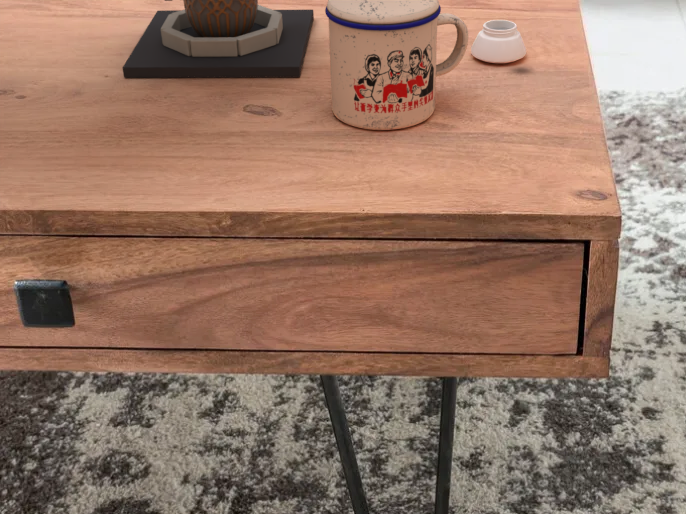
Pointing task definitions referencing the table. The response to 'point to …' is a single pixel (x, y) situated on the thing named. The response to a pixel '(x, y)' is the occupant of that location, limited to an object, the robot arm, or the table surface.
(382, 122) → the teacup with lid
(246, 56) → the base pad
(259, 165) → the table surface
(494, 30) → the white jar
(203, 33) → the vase
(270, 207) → the table surface
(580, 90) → the table surface
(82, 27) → the table surface
